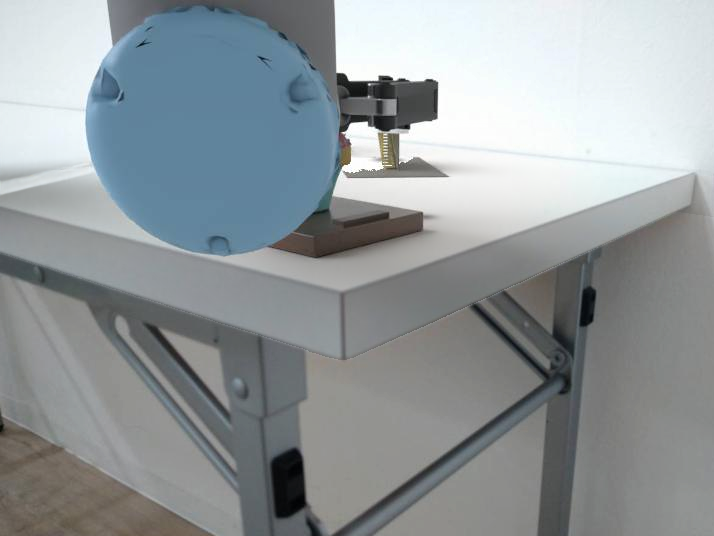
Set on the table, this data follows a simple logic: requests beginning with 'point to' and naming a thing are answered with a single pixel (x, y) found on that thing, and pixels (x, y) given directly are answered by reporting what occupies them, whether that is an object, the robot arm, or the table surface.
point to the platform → (397, 160)
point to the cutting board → (349, 227)
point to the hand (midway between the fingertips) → (293, 92)
